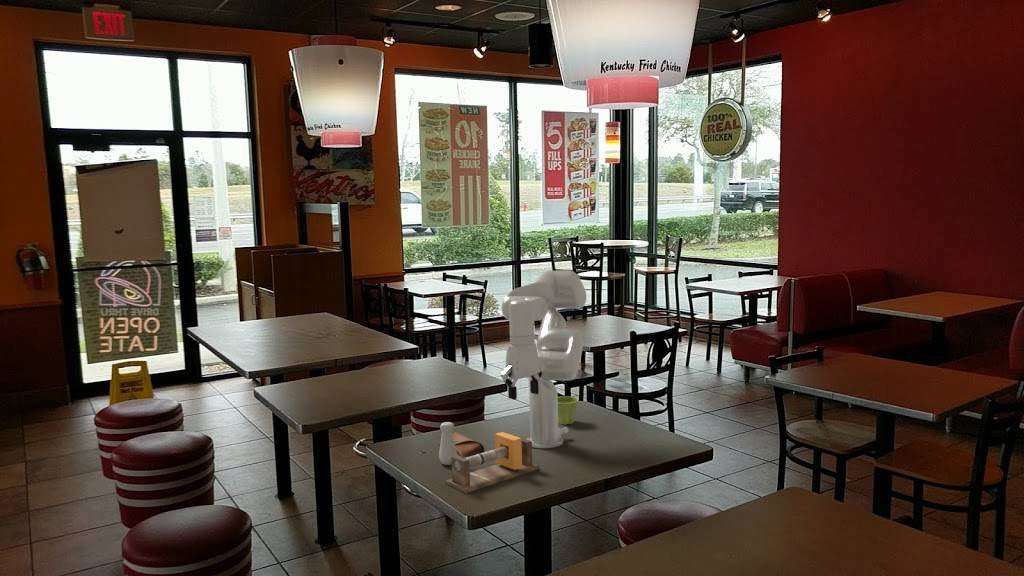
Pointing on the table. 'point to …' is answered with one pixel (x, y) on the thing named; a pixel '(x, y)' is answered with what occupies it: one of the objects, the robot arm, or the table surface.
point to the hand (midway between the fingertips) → (523, 395)
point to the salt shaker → (447, 443)
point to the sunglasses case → (466, 445)
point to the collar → (514, 450)
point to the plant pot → (566, 409)
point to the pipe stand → (488, 468)
